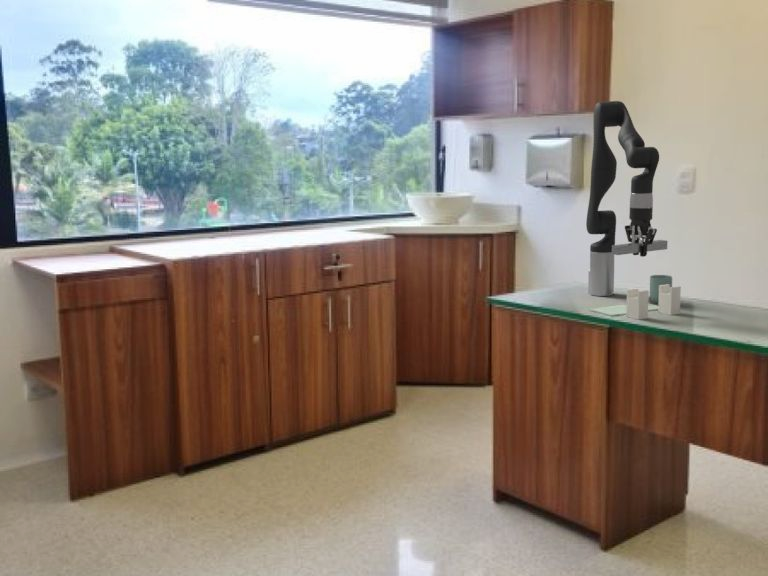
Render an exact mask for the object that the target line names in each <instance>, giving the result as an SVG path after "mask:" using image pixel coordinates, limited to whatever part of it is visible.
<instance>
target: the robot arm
mask: <svg viewBox="0 0 768 576" xmlns="http://www.w3.org/2000/svg"><path fill="white" fill-rule="evenodd" d="M609 127H610V128H613V127H620V129H619V131H618V136H617V141H618V143H619V145H620V146H621V148H622V149H623V150H624V153H625V159H626V164H627V165H628V167H629V168H631V169H644V170H643V172H642V173H640V174H637V175H634V176H633V177H632V178H631V181H630V198H629V214H628V215H629V217H628V218H629V219H628V220H630V223H629V224H628V225H624V230H625V234H626V239H627V241H628V242H627V243H637V242H641V247H640V253H632V255H633V256H638V255H639V256H640V257H642V258H643V257H646V256H647V254H648V252H647V246H648V245H649V244H652V243H653V241H655V237H656V234H657V232H658V230H657V228H653V227H652V225H651V220H653V208H654V195H653V189H654V188H653V187H654V186H653V184H654V177H655V174H656V170H657V168H658V165H659V162H660V153H659V151H658V149H657V148H656V147H654V146H646V144H645V141H644V139H643V138H642V136H641V135H640V134H639V132H638V131H637V130H636V128H635V126H634V123H633V120H632V117H631V115H630V113H629V110H628V108H627V106H626V104H625V103H623V102H622V101H621V100H613V101H600V102H597V103H596V104H595V105H594V110H593V147H592V158H591V169H590V188H589V189H590V190H589V199H588V206H587V211H586V212H587V213H586V221H585V223H586V225H585V226H586V231H587V233H588V234H589V235H604V236H603V238H601V239H600V240H598V241H595V242H593V243H591V244H590V246H589V249H590V251H589V258H590V259H589V269H588V281H587V283H588V289H587V290H588V294H590V295H591V296H596V297H597V296H598V297H609V296H613V294H614V293H615V255H614V254H612V245H616V230H617V216H616V213H615V211H613V210H612V209H611V210H610V209H609V210H608V209H607V210H599V208H600V204H601V201H602V200H603V198H604V196H605V195H606V194H607V192H608V191H609V189H611V187H612V186H613V184H614V182H615V180H616V177H617V168H618V167H617V166H618V164H617V158H616V156H615V154H614V152H613V150H612V149H611V147H610V146H609V144H608V141H607V139H606V128H609ZM614 295H615V294H614Z"/></svg>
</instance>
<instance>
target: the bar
mask: <svg viewBox="0 0 768 576" xmlns="http://www.w3.org/2000/svg"><path fill="white" fill-rule="evenodd" d="M640 247H641V242H640V241H639V242H637V243H631V242H627V243H622V244H621V243H620V244H615V245H612V254H614V256H623V255H629V254H631V255H632V254H633V253H639V254H640ZM662 250H663V251H665V250H668V240H666V239H657V240H655V239H654V240H653V243H652V244H649V245H648V246H647V253H648V252H654V251H662Z"/></svg>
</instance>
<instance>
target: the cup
mask: <svg viewBox="0 0 768 576" xmlns="http://www.w3.org/2000/svg"><path fill="white" fill-rule="evenodd" d="M666 284H669V285H670V287H673V276H672V275H669V274H667V275H666V274H652V275H650V277H649V296H650V297H649V298H650V300H651V302H652V303H654V304H657V305H659V285H666Z"/></svg>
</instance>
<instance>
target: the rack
mask: <svg viewBox="0 0 768 576" xmlns="http://www.w3.org/2000/svg"><path fill="white" fill-rule="evenodd" d="M638 289H639V288H637V287H634V288H627V289H626V304H627V309H626V314H625V316H626V317H627V318H630V319H634V320H646V319H649V311H648V304H649V290H647V289H646V290H638ZM681 290H682V289H681V286H679V285H678V286H677V285H676V286H672V287H670V285H669V284H666V285H659V304H657V306H658V310H657V311H658V313H660V314H664V315H669V316H673V315H674V316H675V315H679V314H681Z"/></svg>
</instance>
